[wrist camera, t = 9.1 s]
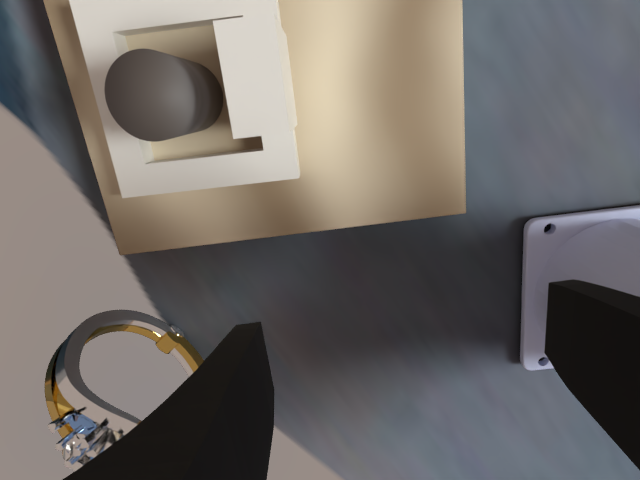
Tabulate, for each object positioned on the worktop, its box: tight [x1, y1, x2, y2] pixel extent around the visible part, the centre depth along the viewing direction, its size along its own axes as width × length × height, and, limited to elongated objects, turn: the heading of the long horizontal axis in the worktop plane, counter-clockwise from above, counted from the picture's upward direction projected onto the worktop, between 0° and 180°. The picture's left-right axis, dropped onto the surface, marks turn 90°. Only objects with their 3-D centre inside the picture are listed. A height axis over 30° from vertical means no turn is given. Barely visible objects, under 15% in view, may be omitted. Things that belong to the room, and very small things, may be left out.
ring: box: [45, 310, 204, 471], centre depth 17 cm, size 7×3×8 cm, turn 44°
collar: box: [69, 0, 300, 198], centre depth 14 cm, size 7×7×5 cm
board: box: [43, 0, 466, 255], centre depth 14 cm, size 15×16×6 cm
